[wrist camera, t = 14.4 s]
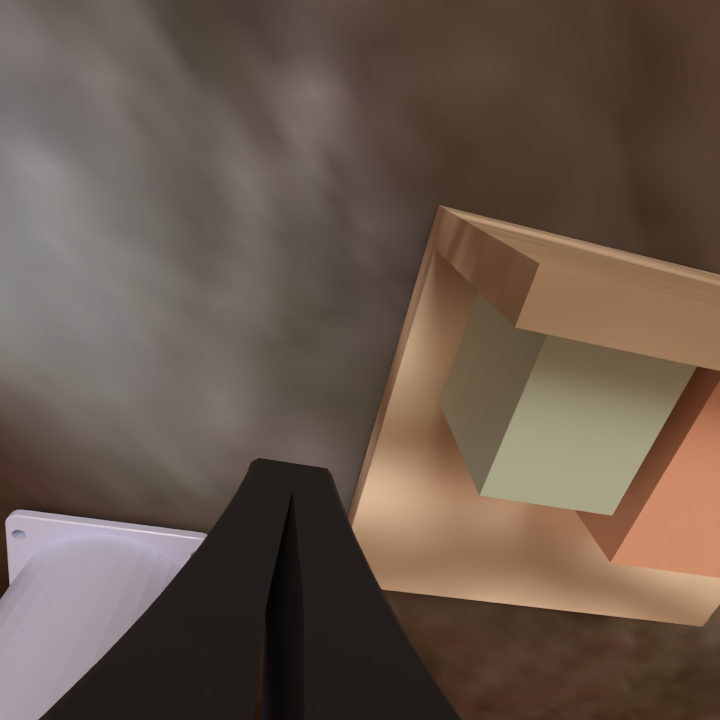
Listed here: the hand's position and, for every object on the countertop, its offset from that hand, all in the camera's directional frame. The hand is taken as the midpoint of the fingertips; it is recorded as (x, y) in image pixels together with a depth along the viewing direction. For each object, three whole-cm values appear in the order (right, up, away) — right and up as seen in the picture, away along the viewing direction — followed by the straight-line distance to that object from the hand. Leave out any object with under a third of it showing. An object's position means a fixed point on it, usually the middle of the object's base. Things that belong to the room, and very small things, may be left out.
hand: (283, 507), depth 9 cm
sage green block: (+7, +3, +8) cm, 11 cm away
